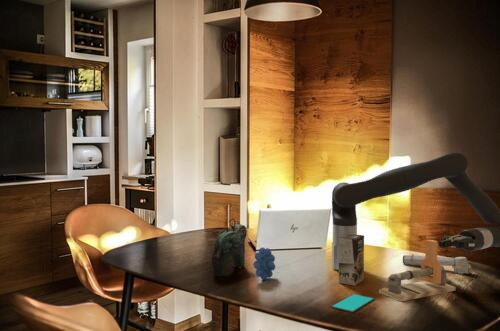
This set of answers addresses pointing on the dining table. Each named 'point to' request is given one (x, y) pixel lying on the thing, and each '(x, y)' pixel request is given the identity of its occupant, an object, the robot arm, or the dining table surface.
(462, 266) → the toothbrush head
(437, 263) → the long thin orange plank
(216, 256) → the dark green backpack
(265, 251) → the grapes
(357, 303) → the smartphone
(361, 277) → the coffee box
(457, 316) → the dining table surface
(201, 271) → the dining table surface
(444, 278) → the pipe stand
